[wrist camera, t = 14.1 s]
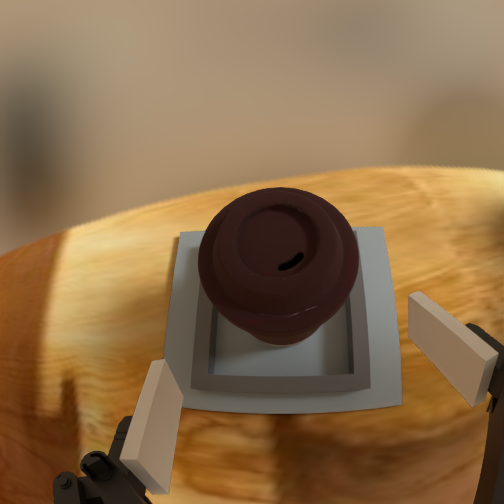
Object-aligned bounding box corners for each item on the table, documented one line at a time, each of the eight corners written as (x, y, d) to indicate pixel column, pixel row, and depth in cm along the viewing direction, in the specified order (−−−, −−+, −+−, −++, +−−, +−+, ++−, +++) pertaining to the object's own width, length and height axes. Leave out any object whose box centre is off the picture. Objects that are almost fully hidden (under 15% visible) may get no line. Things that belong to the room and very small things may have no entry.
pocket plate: (380, 231, 34) (387, 214, 31) (399, 404, 25) (411, 404, 22) (183, 236, 37) (173, 220, 34) (163, 404, 28) (149, 403, 25)
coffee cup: (237, 268, 33) (201, 175, 20) (329, 266, 32) (351, 169, 19) (231, 360, 28) (179, 323, 15) (334, 360, 27) (374, 322, 14)
